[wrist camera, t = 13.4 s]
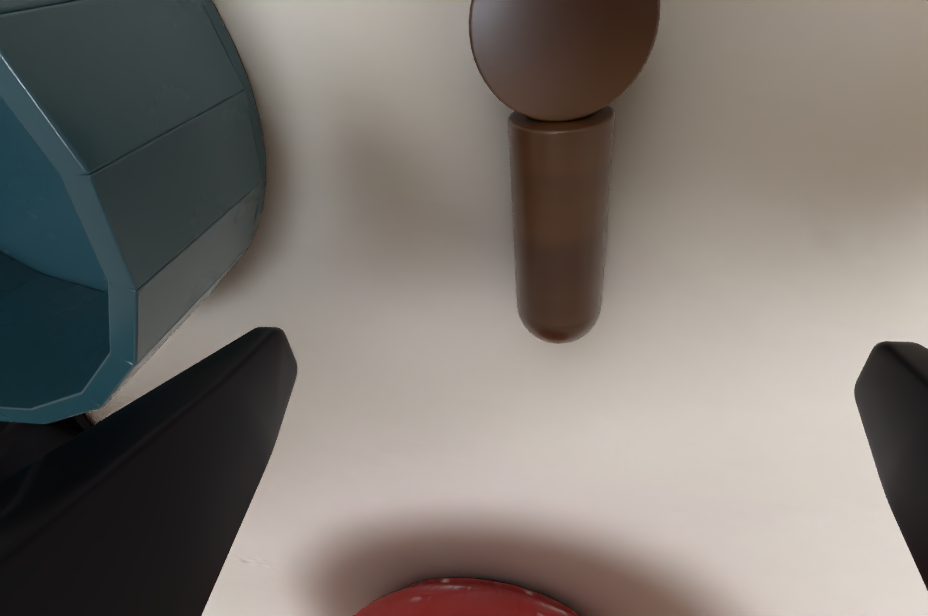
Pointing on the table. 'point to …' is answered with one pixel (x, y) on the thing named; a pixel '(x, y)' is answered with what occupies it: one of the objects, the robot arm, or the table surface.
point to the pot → (114, 189)
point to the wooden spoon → (560, 140)
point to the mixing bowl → (464, 600)
